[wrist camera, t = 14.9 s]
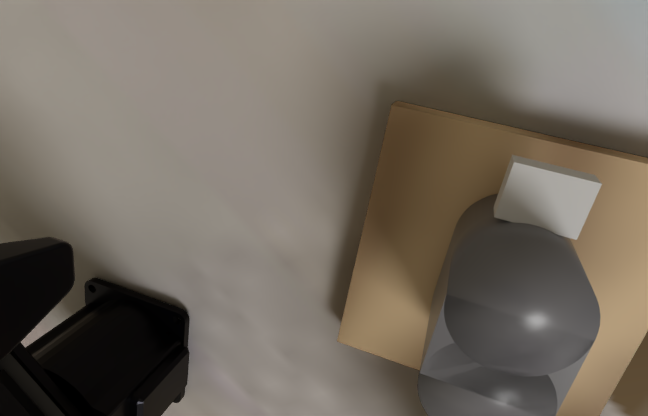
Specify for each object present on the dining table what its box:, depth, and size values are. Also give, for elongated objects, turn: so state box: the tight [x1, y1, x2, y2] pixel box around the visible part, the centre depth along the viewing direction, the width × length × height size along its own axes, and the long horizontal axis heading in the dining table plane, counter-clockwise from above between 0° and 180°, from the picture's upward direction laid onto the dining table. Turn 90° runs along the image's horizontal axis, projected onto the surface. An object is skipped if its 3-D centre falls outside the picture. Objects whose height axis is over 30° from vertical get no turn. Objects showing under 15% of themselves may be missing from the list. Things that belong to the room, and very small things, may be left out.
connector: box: [418, 155, 602, 416], centre depth 15 cm, size 4×9×5 cm, turn 169°
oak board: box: [337, 101, 648, 416], centre depth 18 cm, size 11×11×1 cm
